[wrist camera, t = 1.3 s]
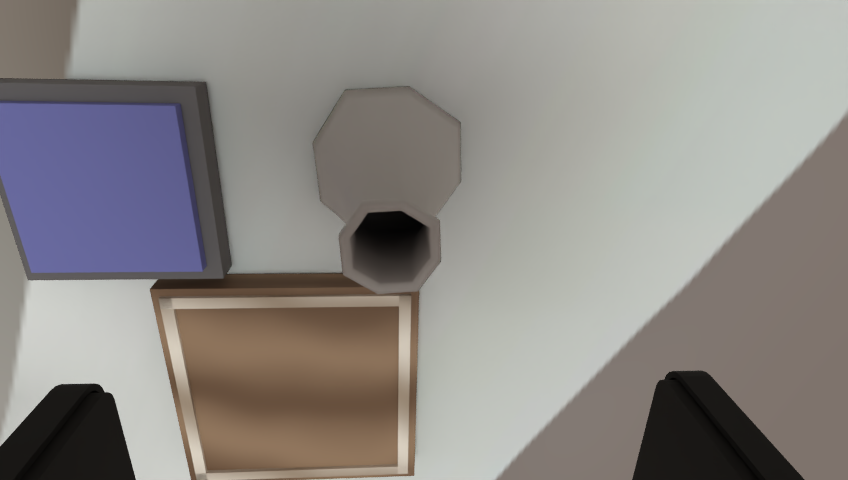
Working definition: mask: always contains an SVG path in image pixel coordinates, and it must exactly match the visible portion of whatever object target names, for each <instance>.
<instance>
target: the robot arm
mask: <svg viewBox="0 0 848 480" xmlns="http://www.w3.org/2000/svg"><path fill="white" fill-rule="evenodd" d="M0 480H136V479H135V475H134V471H133V468H132V464H131V460H130V456H129V452H128V449H127V445H126V441H125V437H124V434H123V430H122V426H121V422H120V419H119V415H118V411H117V407H116V404H115V400H114V397H113V395H112V394H111V393H108V392H104V390H103V388H102V387H101V386H100V385H99V384H61V385H58V386H56V387H54V388H53V389H52V390H51V391H50V392H49V393H48V394H47V395H46V396H45V397H44V399H43V400H42V401H41V402H40V403H39V404H38V405H37V406H36V407H35V409H34V410H33V411H32V412H31V413H30V414H29V415H28V416H27V417H26V419H25V420H24V421H23V422H22V423H21V424H20V425H19V426H18V427H17V429H16V430H15V431H14V432H13V433H12V434H11V435H10V436H9V437H8V439H7V440H6V441H5V442H4V443H3V444H2V445H1V446H0ZM632 480H804V479H803V478H802V476H801V475H800V474H799V473H798V472H797V471H796V470H795V469H794V468H793V466H792V465H791V464H790V463H789V462H788V461H787V460H786V459H785V458H784V457H783V455H782V454H781V453H780V452H779V451H778V450H777V449H776V448H775V447H774V446H773V444H772V443H771V442H770V441H769V440H768V439H767V438H766V437H765V435H764V434H763V433H762V432H761V431H760V430H759V429H758V428H757V427H756V426H755V425H754V423H753V422H752V421H751V420H750V419H749V418H748V417H747V416H746V414H745V413H744V412H743V411H742V410H741V409H740V408H739V407H738V406H737V405H736V403H735V402H734V401H733V400H732V399H731V398H730V397H729V396H728V395H727V393H726V392H725V391H724V390H723V389H722V388H721V387H720V386H719V385H718V383H717V382H716V381H715V380H714V379H713V378H712V377H711V376H710V375H709V374H708V373H707V372H704V371H672V372H669V373H668V374H667V375H666V377H665V379H664V380H660V381H659V382H658V383H657V385H656V389H655V392H654V397H653V401H652V404H651V408H650V412H649V416H648V420H647V424H646V428H645V432H644V436H643V440H642V444H641V448H640V452H639V456H638V460H637V464H636V468H635V471H634V475H633V479H632Z"/></svg>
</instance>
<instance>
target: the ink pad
mask: <svg viewBox="0 0 848 480" xmlns="http://www.w3.org/2000/svg"><path fill="white" fill-rule="evenodd" d="M0 195H1V198H2V201H3V205H4V207H5V211H6V214H7V217H8V220H9V223H10V226H11V229H12V232H13V235H14V238H15V242H16V245H17V248H18V251H19V254H20V257H21V260H22V263H23V266H24V269H25V272H26V275H27V278H28V280H108V279H224V277H225V275H226V274H227V272H228V270H229V269H230V267H231V258H230V251H229V244H228V237H227V230H226V223H225V216H224V208H223V201H222V194H221V187H220V180H219V173H218V166H217V159H216V151H215V144H214V137H213V130H212V123H211V116H210V109H209V102H208V94H207V87H206V82H174V81H120V80H67V79H12V78H0Z"/></svg>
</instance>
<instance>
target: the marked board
mask: <svg viewBox="0 0 848 480" xmlns="http://www.w3.org/2000/svg"><path fill="white" fill-rule="evenodd" d="M150 292H151V297H152V301H153V306H154V310H155V315H156V320H157V324H158V329H159V333H160V338H161V343H162V347H163V352H164V357H165V361H166V366H167V370H168V375H169V380H170V384H171V389H172V393H173V398H174V403H175V407H176V412H177V416H178V421H179V426H180V430H181V435H182V439H183V444H184V449H185V453H186V458H187V462H188V467H189V472H190V476H191V480H306V479H334V478H362V477H390V476H414V463H415V425H416V387H417V350H418V312H419V291H416V292H402V293H387V294H377V293H375V292H373V291H371V290H369V289H368V288H366V287H364V286H362V285H360V284H359V283H357V282H355V281H353V280H351V279H349V278H348V277H346V276H344V275H343V273H323V274H226V275H225V277H224V279H158V280H157V281H156V283H155V284H154V285H153V286H152V287H151V289H150Z"/></svg>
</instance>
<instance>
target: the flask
mask: <svg viewBox="0 0 848 480" xmlns="http://www.w3.org/2000/svg"><path fill="white" fill-rule="evenodd" d="M313 148H314V156H315V164H316V171H317V179H318V187H319V195H320V201H321V202H322V203H323V204H324V205H325V206H326V207H328V208H329V209H330V210H332V211H333V212H334V213H336V214H337V215H338V216H339V217H340V218H341V219H342V220H343V221H344V222H345V223H346V225H345V226H344V228H343V229H342V230H341V232H340V233H339V245H340V253H341V262H342V270H343V275H344V276H346V277H348V278H349V279H351V280H353V281H355V282H357V283H359V284H360V285H362V286H364V287H366V288H368V289H369V290H371V291H373V292H375V293H377V294H387V293H402V292H416V291H419V289H420V288H421V287H422V285H423V284H424V283H425V281H426V280H427V279H428V278H429V276H430V275H431V274H432V272H433V271H434V270H435V268H436V267H437V266H438V264H439V263H440V262H441V244H440V220H439V219H437V218H436V217H435V216H436V215H437V214H438V212H439V211H440V210H441V208H442V207H443V205H444V204H445V203H446V201H447V200H448V199H449V197H450V196H451V195H452V193H453V192H454V191H455V189H456V188H457V186H458V185H459V184H460V182H461V122H459V121H458V120H456V119H455V118H454V117H452V116H451V115H449V114H448V113H446V112H445V111H444V110H442V109H441V108H439V107H438V106H436V105H435V104H434V103H432V102H431V101H429V100H428V99H426V98H425V97H424V96H422V95H421V94H419V93H418V92H416V91H415V90H414V89H412V88H411V87H389V88H369V89H349V90H345V91H344V92H343V94H342V96H341V97H340V99H339V100H338V102H337V104H336V105H335V107H334V109H333V110H332V112H331V114H330V115H329V117H328V119H327V120H326V122H325V123H324V125H323V127H322V128H321V130H320V132H319V133H318V135H317V137H316V138H315V140H314V142H313Z"/></svg>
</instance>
